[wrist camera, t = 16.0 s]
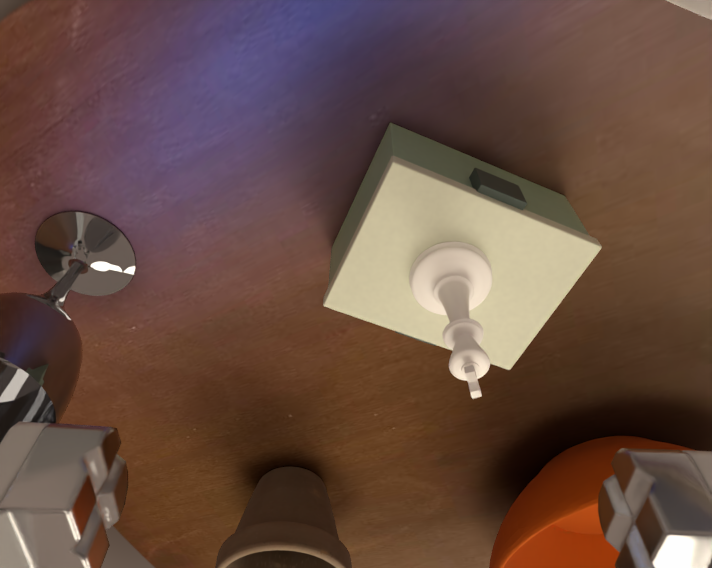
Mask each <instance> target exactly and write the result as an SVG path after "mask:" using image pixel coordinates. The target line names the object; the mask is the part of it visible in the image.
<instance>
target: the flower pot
mask: <svg viewBox="0 0 712 568" xmlns="http://www.w3.org/2000/svg"><path fill="white" fill-rule="evenodd" d="M215 568H352V565H351V558H350V554H349V552H348V550H347V548H346V547H345V546H344V544H343V543H342V542H341V541H340V540H339V538H338V534H337V529H336V525H335V520H334V516H333V512H332V508H331V504H330V501H329V497H328V494H327V491H326V487H325V485H324V483H323V481H322V480H321V478H320V477H319V476H317V475H316V474H315V473H313V472H311V471H309V470H307V469H304V468H299V467H281V468H277V469H274V470H271V471H269V472H268V473H266V474H265V475H264V476H263V477H262V478H261V479H260V480H259V482H258V484H257V486H256V488H255V490H254V492H253V494H252V496H251V498H250V500H249V502H248V504H247V507H246V509H245V511H244V514H243V516H242V518H241V520H240V523H239V525H238V527H237V529H236V532H235V533H234V534H233V535H231V536H230V537H229V538H228V539H227V540H226V541H225V542H224V543H223V545H222V546H221V548H220V550H219V553H218V556H217V561H216V567H215Z"/></svg>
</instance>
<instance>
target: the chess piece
mask: <svg viewBox="0 0 712 568" xmlns="http://www.w3.org/2000/svg"><path fill="white" fill-rule="evenodd" d="M409 283H410V287H411V290H412V293H413V295H414V297H415V299H416V300H417V302H418V303H419V304H420V305H421V306H422V307H424V308H425V309H427V310H428V311H430V312H433V313H436V314H440V315H447V316H448V319H449V321H450V323H449V324H448V325H447V326H446V327H445V328H444V330H443V335H442V337H443V341H444V343H445V344H446V345H447V346H448V347H449V348H450V349H451V350H453V352H452V354H451V357H450V360H449V369H450V372H451V373H452V375H453V376H455V377H456V378H458V379H460V380H465V381H468V384H469V389H470V393H471V397H472V399H473V398H477V397H482V394H481V390H480V386H479V383H478V380H477V379H478V378H480V377H482V376H484V375H485V374H486V373H487V371H488V370H489V367H490V359H489V357H488V355H487V354H486V352H485V351H484V350H483V349H482V348H481V347H480V346H479V344H480V343H481V341H482V339H483V333H484V332H483V328H482V326H481V325H480V324H479V323H478V322H477V321H475V320H473V319H470V316H469V311H470V310H472V309H474V308H475V307H477V306H478V305H479V304H480V303H481V302H482V301H483V300H484V299H485V298H486V297H487V295H488V293H489V291H490V289H491V285H492V268H491V264H490V262H489V260H488V258H487V257H486V255H485V254H484V253H483V252H482V251H481V250H480V249H478V248H476V247H475V246H473V245H470V244H468V243H464V242H455V241H453V242H444V243H440V244H437V245H434V246H432V247H430V248H428V249H427V250H425V251H424V252H423V253H421V254H420V255H419V256H418V257H417V259H416V260H415V262H414V263H413V265H412V267H411V270H410V274H409Z"/></svg>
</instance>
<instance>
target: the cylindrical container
mask: <svg viewBox="0 0 712 568" xmlns="http://www.w3.org/2000/svg"><path fill="white" fill-rule="evenodd" d="M666 1H668V2H670V3H673V4H675V5H677V6H680V7H682V8H684V9H687V10H689V11H691V12H694V13H696V14H698V15H701V16H703V17H705V18H708V19H710V20H712V0H666Z"/></svg>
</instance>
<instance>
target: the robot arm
mask: <svg viewBox="0 0 712 568" xmlns="http://www.w3.org/2000/svg"><path fill="white" fill-rule="evenodd" d="M120 444H121V440H120V437H119V434H118V430H117V428H113V427H102V426H87V425H72V424H57V423H36V422H20V421H19V422H18V423H17V424H15V425H14V426H13V427H11V428H10V429H9V430H8V432H7V433H6V435H5V437H4V438H3V440H2V441H1V443H0V568H101V566H102V563H103V561H104V558H105V555H106V553H107V550H108V548H109V541H108V538H107V534H106V530H107V529H109V528H110V527H111V526H112V525H113V524H115V523H116V522H117V521H118V520H119V519H120V516H121V513H122V510H123V508H124V505H125V500H126V495H127V489H128V470H127V465H126V461H124V460H123V459H122V458H121V457H120V456H118V455H117V452H118V449H119V447H120ZM611 465H612V468H613V470H614V472H615V474H614V475H612V476H611V477H609V478H608V479H606V480H605V481H603V484H602V486H601V489H600V492H599V495H598V515H599V520H600V525H601V528H602V531H603V534H604V537H605V539H606V540H607V541H608V542H609V543H610V544H611V545H612V546H613V547H614V548H615V549H616V550H617V551H619V555H618V557H617V560H616V562H615V567H616V568H712V451H688V450H683V451H680V450H669V449H636V448H621V449H620V450H618V451H617V452H616V453H615V455H614V457H613V460H612V462H611Z"/></svg>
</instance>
